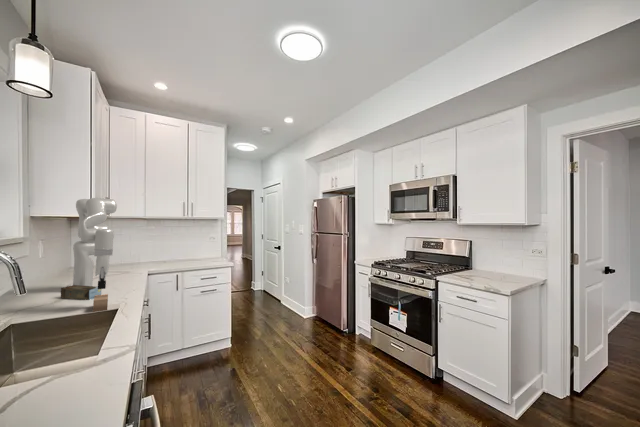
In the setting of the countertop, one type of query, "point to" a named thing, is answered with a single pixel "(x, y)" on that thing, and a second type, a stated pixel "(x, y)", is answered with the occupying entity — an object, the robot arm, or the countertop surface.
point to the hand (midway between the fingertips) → (101, 288)
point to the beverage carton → (80, 292)
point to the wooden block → (100, 303)
